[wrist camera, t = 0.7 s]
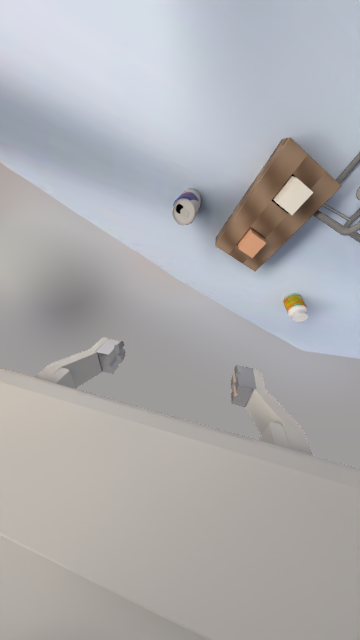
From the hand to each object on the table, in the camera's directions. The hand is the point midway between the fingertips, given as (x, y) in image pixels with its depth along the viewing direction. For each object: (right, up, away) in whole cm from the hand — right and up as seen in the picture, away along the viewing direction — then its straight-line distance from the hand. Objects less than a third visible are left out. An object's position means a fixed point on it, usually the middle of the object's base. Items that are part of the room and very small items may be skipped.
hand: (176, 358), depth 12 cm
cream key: (+24, +30, +24) cm, 45 cm away
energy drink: (+3, +34, +32) cm, 47 cm away
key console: (+22, +30, +31) cm, 48 cm away
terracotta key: (+19, +24, +31) cm, 43 cm away
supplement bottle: (+40, +10, +47) cm, 63 cm away
